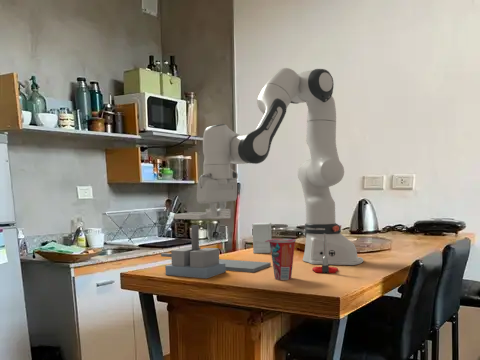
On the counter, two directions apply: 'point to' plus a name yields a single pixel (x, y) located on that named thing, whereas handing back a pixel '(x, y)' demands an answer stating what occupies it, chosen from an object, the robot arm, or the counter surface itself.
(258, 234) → the supplement box
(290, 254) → the cup
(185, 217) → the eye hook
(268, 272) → the counter surface
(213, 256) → the vise
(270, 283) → the counter surface
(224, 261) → the mat
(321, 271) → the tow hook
